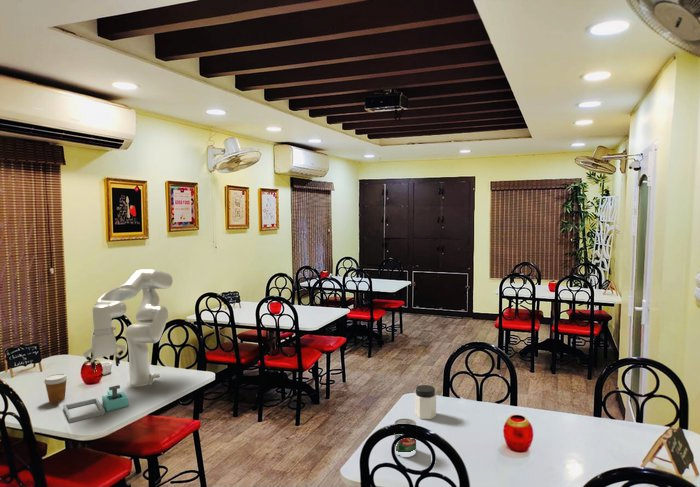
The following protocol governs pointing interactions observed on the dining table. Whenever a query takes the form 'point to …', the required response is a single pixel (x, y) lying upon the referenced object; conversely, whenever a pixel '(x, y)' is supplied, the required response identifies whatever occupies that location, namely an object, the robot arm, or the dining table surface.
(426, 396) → the jar
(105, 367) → the teacup
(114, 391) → the grey t-shaped stand
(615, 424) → the dining table surface
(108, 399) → the teal box on base
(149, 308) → the robot arm
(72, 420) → the tray
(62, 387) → the disposable coffee cup
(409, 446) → the canned tomato
